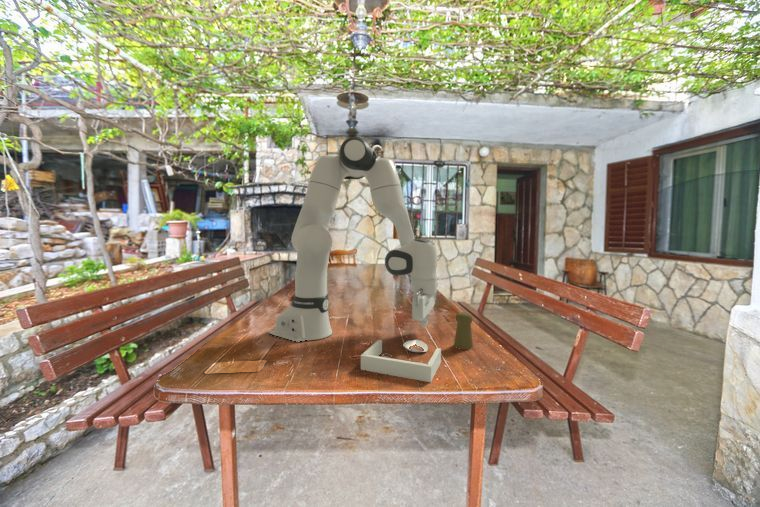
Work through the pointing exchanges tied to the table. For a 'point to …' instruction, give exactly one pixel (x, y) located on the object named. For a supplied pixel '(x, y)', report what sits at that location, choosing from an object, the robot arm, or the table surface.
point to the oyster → (417, 342)
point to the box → (399, 364)
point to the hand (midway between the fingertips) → (424, 325)
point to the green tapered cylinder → (463, 331)
